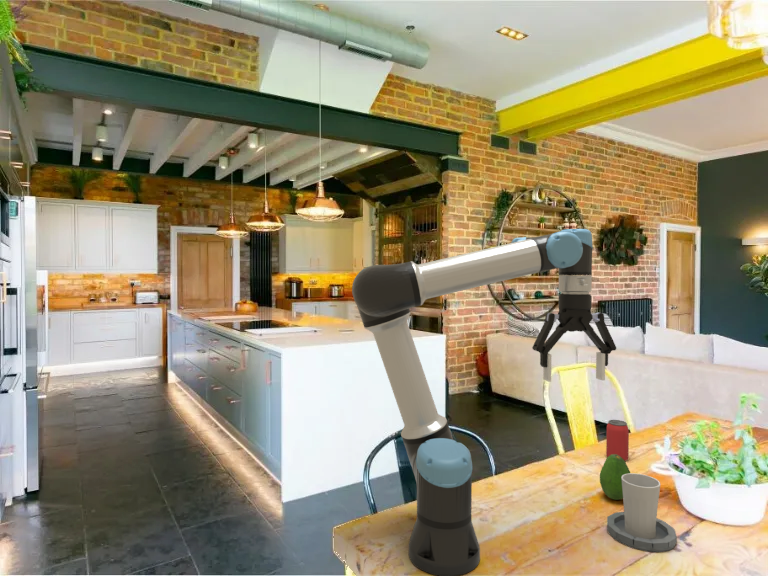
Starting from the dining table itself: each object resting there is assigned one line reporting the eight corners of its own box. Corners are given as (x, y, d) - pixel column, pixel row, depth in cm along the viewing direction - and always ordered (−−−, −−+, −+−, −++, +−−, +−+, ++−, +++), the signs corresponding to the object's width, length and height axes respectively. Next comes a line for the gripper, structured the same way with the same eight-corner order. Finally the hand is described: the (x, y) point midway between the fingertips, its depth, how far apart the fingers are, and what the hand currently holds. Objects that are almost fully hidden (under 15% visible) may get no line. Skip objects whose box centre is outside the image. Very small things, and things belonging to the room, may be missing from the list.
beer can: (612, 453, 165) (612, 418, 164) (632, 459, 160) (632, 422, 159) (602, 458, 160) (602, 421, 160) (622, 464, 155) (623, 426, 155)
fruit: (632, 495, 133) (632, 451, 133) (633, 507, 126) (633, 461, 126) (599, 490, 137) (600, 447, 136) (599, 502, 129) (599, 457, 129)
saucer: (630, 554, 105) (630, 544, 105) (595, 521, 119) (595, 513, 119) (690, 550, 107) (690, 541, 107) (649, 518, 121) (649, 510, 121)
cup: (665, 542, 108) (665, 489, 108) (626, 538, 110) (626, 486, 109) (653, 524, 116) (653, 474, 116) (616, 521, 118) (617, 472, 117)
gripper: (531, 293, 114) (530, 384, 114) (632, 293, 116) (631, 382, 117) (519, 292, 121) (518, 377, 122) (614, 292, 124) (613, 375, 124)
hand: (573, 380), depth 119 cm, fingers open, 13 cm apart
